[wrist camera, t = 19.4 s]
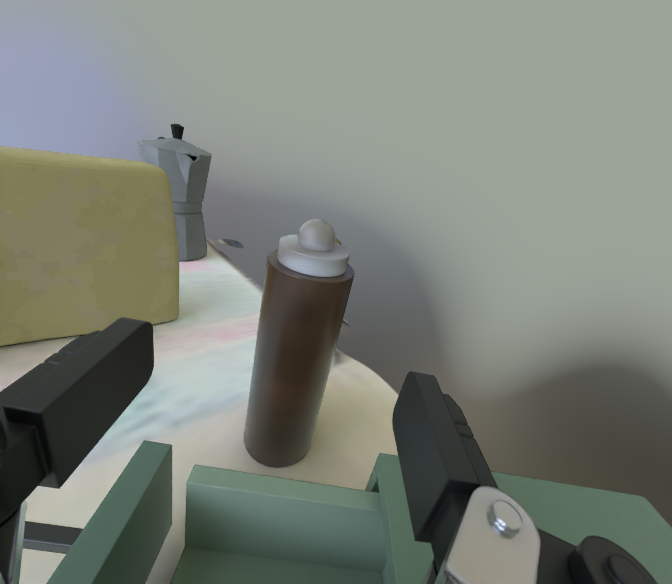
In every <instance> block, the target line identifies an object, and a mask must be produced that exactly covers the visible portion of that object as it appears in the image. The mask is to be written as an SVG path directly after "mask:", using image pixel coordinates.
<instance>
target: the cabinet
mask: <svg viewBox="0 0 672 584" xmlns="http://www.w3.org/2000/svg"><path fill="white" fill-rule="evenodd" d="M491 474H492V476H493V478H494V480H495V482H496V484H497V486H498V488H499V490H501V491H503V492H505V493H507V494H508V495H510V496H511V497H513V498H514V499H515V500H516V501H517V502H519V503H520V504H521V505H522V506H523V508H524V509H525V510H526V511H527V512H528V514H529V515H530V516H531V518H532V520H533V521H534V523H535V525H536V527H537V528H539V529H541V530H543V531H545V532H547V533H549V534H551V535H554V536H556V537H558V538H560V539H562V540H564V541H566V542H568V543H570V544H573V545H575V546H578V545H579V544H580V543H581V542H582V540H583V539H584V538H585V537H587V536H591V535H595V536H600V537H603V538H606V539H608V540H610V541H612V542H614V543H616V544H617V545H619V546H620V547H622V548H623V549H625V550H626V551H627V552H628V553H630V554H631V555H632V556H633V557H634V558H635V559H637V560H638V561H639V562H640V563H641V564H642V565H643V566H644V567H645V568H646V570H647V571H648V572H649V573H650V574H651V575H652V577H653V578H654V579H655V581H656V582H657V583H658V584H672V528H671V527H670V525H669V524H668V523H667V522H666V521H665V520H664V519H663V518H662V516H661V515H660V514H659V513H658V512H657V511H656V510H655V508H654V507H653V506H652V505H651V504H650V503H649V502H648V501H647V499H646V498H645V497H643V496H638V495H632V494H626V493H619V492H614V491H607V490H601V489H595V488H589V487H582V486H577V485H571V484H565V483H559V482H553V481H546V480H540V479H534V478H528V477H522V476H516V475H509V474H504V473H498V472H492V471H491ZM365 491H369V492H376V493H379V495H380V503H381V512H382V521H383V530H384V538H385V547H386V556H387V565H388V573H389V582H390V584H421V583H422V580H423V578H424V575H425V573H426V571H427V568H428V566H429V563H430V561H431V560H432V558H433V556H434V555H433V551H432V547H431V543H425V542H418V541H415V539H414V534H413V529H412V524H411V518H410V513H409V508H408V503H407V498H406V493H405V487H404V482H403V477H402V472H401V467H400V462H399V457H398V456H395V455H389V454H383V453H380V454H379V456H378V458H377V461H376V464H375V466H374V469H373V471H372V474H371V476H370V479H369V481H368V484H367V487H366V489H365Z"/></svg>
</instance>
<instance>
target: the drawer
mask: <svg viewBox="0 0 672 584" xmlns="http://www.w3.org/2000/svg"><path fill="white" fill-rule="evenodd" d="M171 525H172V445H169V444H163V443H157V442H150V441H143V443H142V444H141V446H140V447H139V449H138V450H137V452H136V453H135V455H134V456H133V457H132V459H131V460H130V462H129V463H128V465H127V466H126V468H125V469H124V471H123V472H122V474H121V475H120V477H119V478H118V479H117V481H116V482H115V484H114V485H113V487H112V488H111V490H110V491H109V493H108V494H107V496H106V497H105V499H104V500H103V501H102V503H101V504H100V506H99V507H98V509H97V510H96V512H95V513H94V515H93V516H92V518H91V519H90V520H89V522H88V523H87V525H86V526H85V528H84V529H80V528H73V527H65V526H58V525H51V524H43V523H36V522H28V521H25V528H24V538H23V548H25V549H33V550H40V551H48V552H56V553H63V554H66V556H65V557H64V559H63V560H62V562H61V563H60V564H59V566H58V567H57V569H56V570H55V572H54V573H53V575H52V576H51V578H50V579H49V581H48V582H47V584H145V582H146V580H147V578H148V576H149V573H150V571H151V569H152V567H153V565H154V562H155V560H156V558H157V556H158V554H159V551H160V549H161V547H162V545H163V543H164V540H165V538H166V536H167V534H168V532H169V529H170V527H171ZM170 584H390V582H389V573H388V565H387V556H386V547H385V538H384V530H383V521H382V512H381V503H380V495H379V493H376V492H369V491H363V490H356V489H350V488H343V487H337V486H331V485H324V484H318V483H311V482H305V481H298V480H292V479H285V478H279V477H272V476H266V475H259V474H253V473H247V472H240V471H234V470H227V469H221V468H214V467H208V466H201V465H194V467H193V470H192V472H191V474H190V476H189V478H188V480H187V486H186V523H185V547H184V550H183V553H182V555H181V558H180V560H179V563H178V565H177V568H176V570H175V573H174V575H173V578H172V580H171V583H170Z"/></svg>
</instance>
